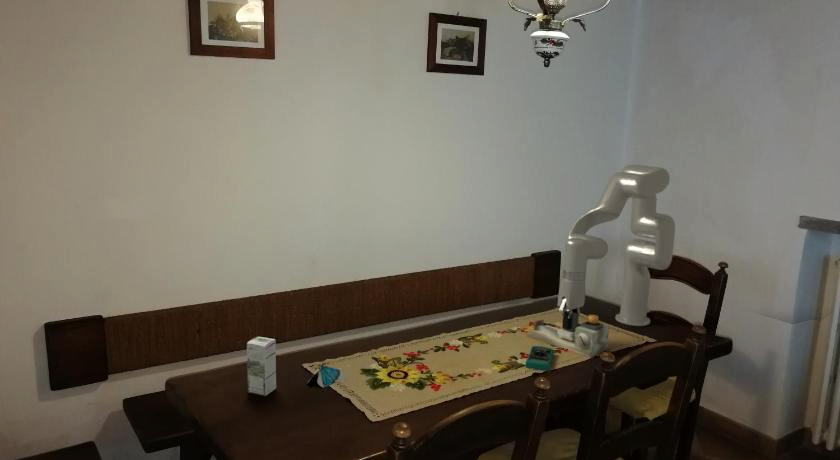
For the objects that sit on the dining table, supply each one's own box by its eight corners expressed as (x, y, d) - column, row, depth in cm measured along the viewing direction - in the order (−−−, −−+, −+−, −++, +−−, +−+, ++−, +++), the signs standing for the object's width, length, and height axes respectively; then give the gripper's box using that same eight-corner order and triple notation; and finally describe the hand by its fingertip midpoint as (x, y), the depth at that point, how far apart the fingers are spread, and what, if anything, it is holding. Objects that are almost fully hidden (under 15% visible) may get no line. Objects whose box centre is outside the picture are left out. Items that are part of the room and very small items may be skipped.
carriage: (568, 333, 227) (570, 309, 226) (581, 337, 224) (583, 312, 222) (557, 337, 222) (559, 313, 221) (569, 341, 219) (571, 316, 217)
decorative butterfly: (296, 372, 182) (315, 352, 191) (299, 391, 185) (318, 370, 193) (328, 379, 179) (345, 358, 187) (330, 398, 181) (348, 377, 190)
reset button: (591, 319, 218) (591, 314, 218) (599, 322, 216) (600, 316, 215) (586, 321, 216) (586, 315, 215) (594, 324, 213) (595, 318, 213)
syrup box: (276, 388, 180) (276, 338, 177) (265, 397, 175) (264, 345, 172) (259, 384, 182) (258, 335, 179) (246, 393, 176) (246, 342, 174)
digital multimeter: (553, 355, 213) (554, 347, 212) (548, 372, 199) (549, 363, 198) (531, 352, 215) (531, 344, 214) (524, 369, 201) (525, 360, 200)
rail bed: (546, 328, 237) (548, 304, 235) (608, 348, 219) (611, 322, 218) (526, 336, 229) (528, 310, 227) (589, 357, 211) (591, 330, 209)
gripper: (578, 269, 227) (573, 319, 231) (550, 276, 216) (546, 329, 219) (597, 273, 222) (592, 325, 225) (570, 281, 211) (565, 335, 214)
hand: (569, 326), depth 222 cm, fingers closed on carriage, 3 cm apart
